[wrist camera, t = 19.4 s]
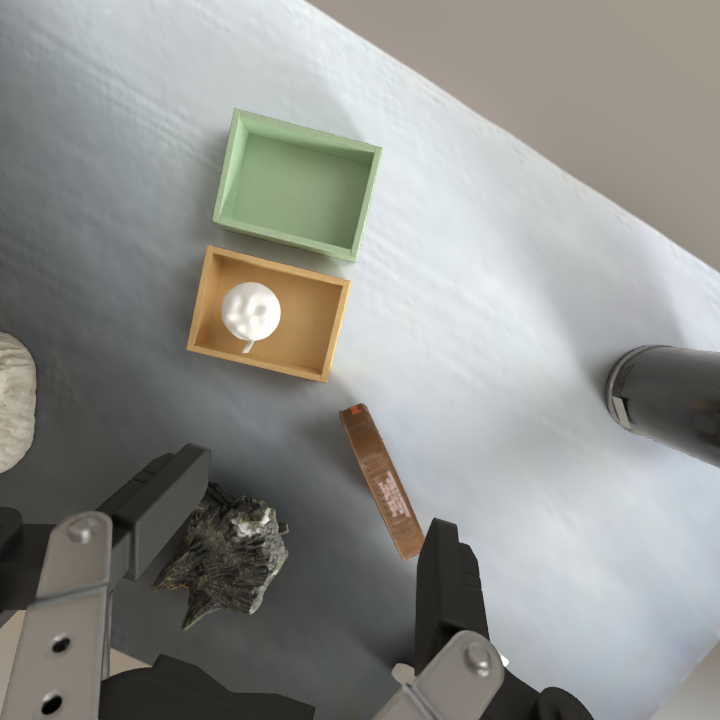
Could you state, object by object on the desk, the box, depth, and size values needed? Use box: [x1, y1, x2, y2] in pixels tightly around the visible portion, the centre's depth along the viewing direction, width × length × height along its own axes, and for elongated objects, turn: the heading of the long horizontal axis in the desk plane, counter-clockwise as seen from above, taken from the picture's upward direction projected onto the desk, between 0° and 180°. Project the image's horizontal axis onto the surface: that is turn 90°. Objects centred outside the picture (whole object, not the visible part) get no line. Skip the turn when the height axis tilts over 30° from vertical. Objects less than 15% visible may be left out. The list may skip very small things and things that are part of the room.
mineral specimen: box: [150, 481, 289, 633], centre depth 37 cm, size 15×13×10 cm
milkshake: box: [221, 282, 289, 353], centre depth 33 cm, size 5×5×10 cm
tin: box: [339, 403, 425, 562], centre depth 36 cm, size 15×3×8 cm, turn 23°
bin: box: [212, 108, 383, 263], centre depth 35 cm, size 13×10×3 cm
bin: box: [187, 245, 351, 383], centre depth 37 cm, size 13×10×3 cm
